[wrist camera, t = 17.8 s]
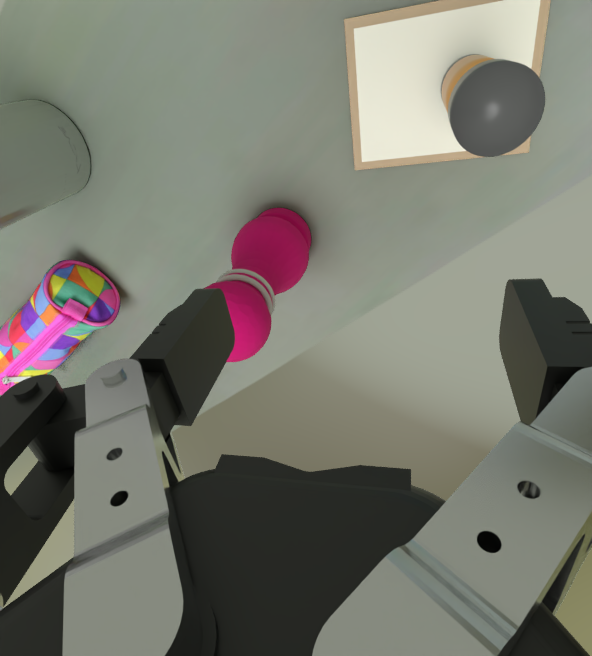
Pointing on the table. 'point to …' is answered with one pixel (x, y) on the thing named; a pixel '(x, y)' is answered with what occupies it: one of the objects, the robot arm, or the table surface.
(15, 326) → the pencil case
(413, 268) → the table surface
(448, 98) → the orange grey cylinder
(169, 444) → the robot arm
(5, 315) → the table surface
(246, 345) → the pepper mill
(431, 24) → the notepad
